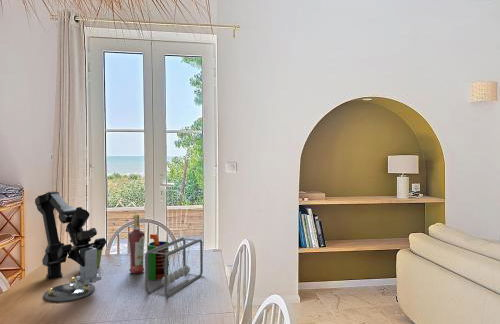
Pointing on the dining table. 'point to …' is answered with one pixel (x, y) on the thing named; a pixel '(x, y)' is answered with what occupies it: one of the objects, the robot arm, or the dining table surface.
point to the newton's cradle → (179, 272)
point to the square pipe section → (88, 266)
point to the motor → (156, 259)
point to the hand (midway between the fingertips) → (89, 264)
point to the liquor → (136, 247)
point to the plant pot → (98, 257)
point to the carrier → (69, 291)
